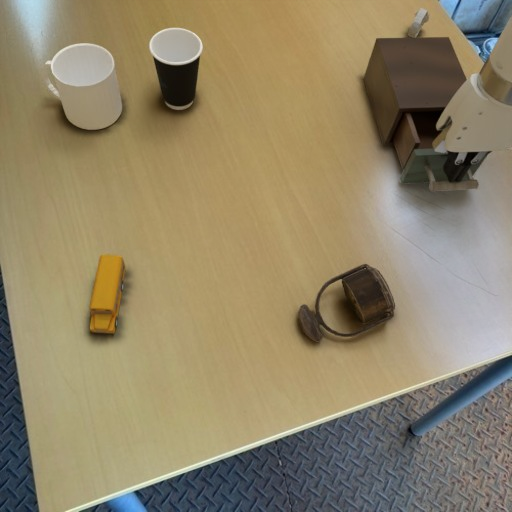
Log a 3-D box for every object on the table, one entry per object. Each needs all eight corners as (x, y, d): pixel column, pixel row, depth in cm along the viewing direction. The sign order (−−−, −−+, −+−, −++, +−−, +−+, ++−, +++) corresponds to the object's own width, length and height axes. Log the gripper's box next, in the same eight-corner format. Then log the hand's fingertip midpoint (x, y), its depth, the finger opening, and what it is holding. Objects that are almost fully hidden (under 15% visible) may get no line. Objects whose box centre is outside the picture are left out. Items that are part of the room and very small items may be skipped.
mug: (133, 102, 90) (125, 56, 82) (102, 138, 86) (92, 94, 78) (70, 76, 92) (57, 29, 84) (38, 111, 87) (20, 65, 79)
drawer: (479, 203, 84) (499, 176, 78) (408, 207, 83) (424, 180, 77) (444, 112, 93) (460, 81, 87) (380, 114, 92) (391, 83, 86)
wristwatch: (424, 30, 105) (434, 7, 101) (415, 45, 103) (424, 22, 98) (410, 24, 105) (419, 1, 101) (401, 39, 103) (409, 16, 99)
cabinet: (455, 143, 91) (478, 105, 84) (383, 146, 90) (399, 108, 82) (430, 76, 99) (448, 36, 91) (363, 78, 97) (376, 37, 90)
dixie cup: (212, 95, 92) (212, 41, 83) (184, 124, 89) (182, 71, 79) (173, 75, 94) (169, 20, 84) (145, 103, 90) (138, 48, 80)
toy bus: (90, 334, 70) (84, 322, 67) (103, 267, 75) (99, 253, 71) (115, 336, 70) (111, 324, 67) (127, 268, 75) (123, 255, 72)
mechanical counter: (412, 335, 68) (403, 257, 70) (312, 335, 65) (308, 255, 68) (388, 342, 74) (381, 271, 77) (297, 343, 72) (293, 270, 75)
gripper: (558, 55, 67) (490, 152, 83) (444, 56, 65) (396, 156, 81) (583, 99, 64) (507, 192, 80) (463, 102, 62) (409, 197, 77)
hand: (451, 174), depth 80 cm, fingers closed
